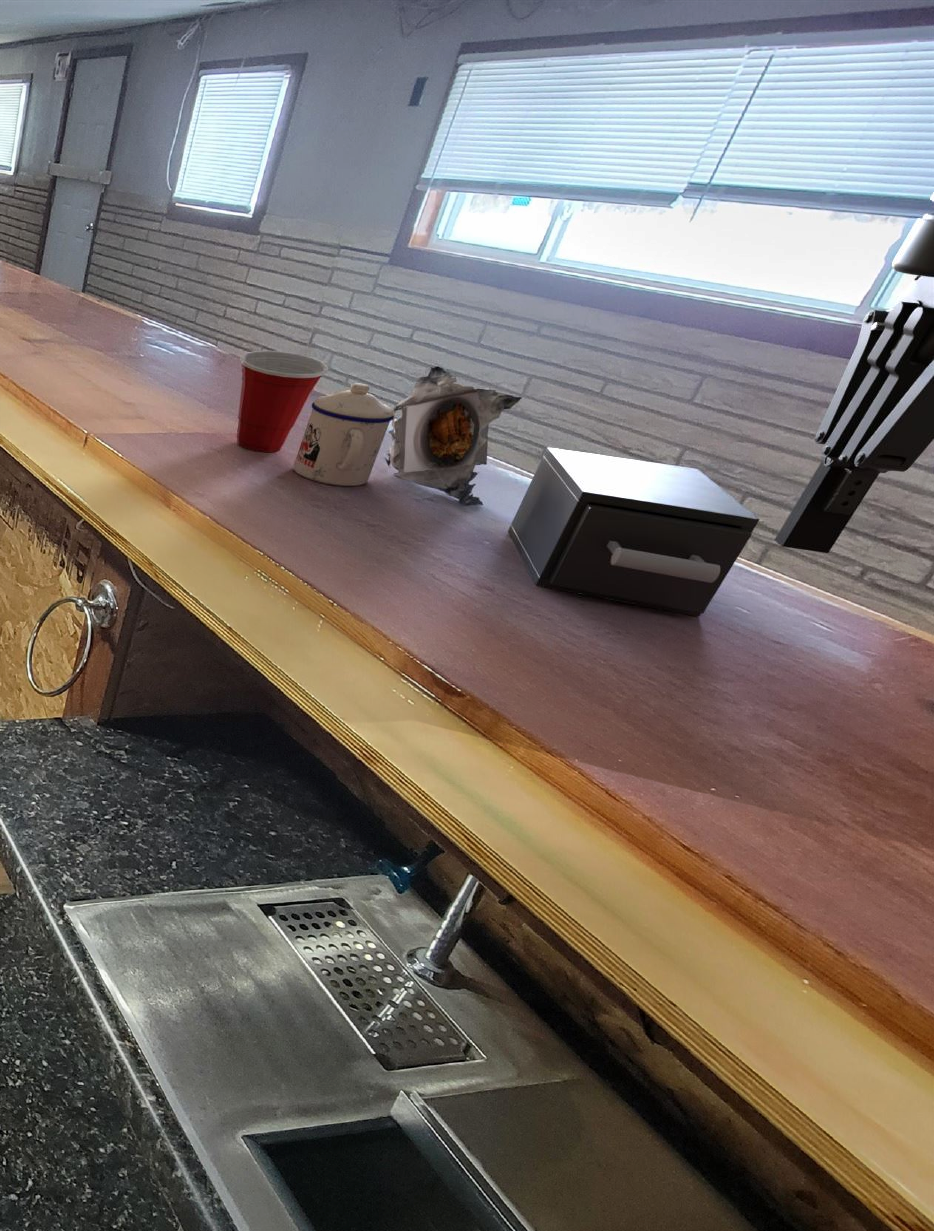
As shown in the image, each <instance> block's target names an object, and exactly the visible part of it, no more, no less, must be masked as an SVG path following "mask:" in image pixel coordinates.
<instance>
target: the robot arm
mask: <svg viewBox="0 0 934 1231" xmlns="http://www.w3.org/2000/svg"><path fill="white" fill-rule="evenodd" d="M930 200H931V201H932V202H933V203H934V193H933V194H932V195H931V197H930ZM891 266H892V269H893V270H894V271H896V272H898V273H902V274H906V275H912V276H916V277H915V278H914V279H913V280H912V282H911V283H910V285H908V287H907V288H906V289H905V290H904V291H903V292H902V293H901V294H900V296H899V297H898V299H897V302H896V303H895V304H894V305H893V307H892V308H891V309H889V310H880V309H871V310H870V311H868V313H866V314H865V316H864V318H863V320H862V324H861V329H860V333H859V336H858V339H857V343H856V346H855V348H854V351H853V352H852V355H851V357H850V359H849V362H848V364H847V365H846V368H845V371H844V373H843V374H842V376H841V379H840V381H839V384H838V385H837V388H836V390H835V393H834V395H833V396H832V399H831V401H830V403H829V406H828V408H827V410H826V412H825V415H824V417H823V419H822V421H821V423H820V425H819V428H818V430H817V432H816V435H815V438H814V443H815V444H818V445H823V447H822V448H821V450H820V457H821V459H823V460H821V462H820V463H819V465H818V466H817V468H816V470H815V471H814V474H813V475H812V477H811V479H810V480H809V481H808V483H807V485H806V487H805V488H804V490H803V492H802V493H801V495H800V496H799V497H798V500H797V501H796V503H795V505H794V506H793V508H792V509H791V511H790V513H789V514H788V516H787V518H786V520H784V523H783V524H782V527H781V528H780V529H779V531H778V533H777V534H776V536H775V538H774V541H775V542H776V543H777V544H779V545H780V546H781V547H784V548H789V549H797V550H803V551H810V552H816V553H817V552H818V553H823V554H829V553H830V551H831V549H832V548H833V547H834V546H835V543H836V542H837V540H838V539H839V537H840V536H841V535H842V532H843V531H844V530H845V528H846V526H847V525H848V523H849V522H850V520H851V519H852V517H853V515H854V514H855V512H856V511H857V509H858V508H859V507H860V505H861V503H862V502H863V500H864V498H865V497H866V496H867V493H868V492H869V491H870V489H871V487H872V486H873V484H874V483H875V481H876V479H877V478H878V477H879V475H880V474H887V473H888V472H900V473H904V472H906V471H908V470H909V469H910V468H911V467H912V466H913V465H914V463H915V462H916V461H917V460H918V458H919V457H920V456H921V455H922V454H923V453H924V451H925V450H926V449H927V448H928V446H929V445H930V444H931V443H932V442H933V441H934V212H926V213H925V214H924V215H923V217H918V218H917V219H916V221H915V223H914V224H913V226H912V228H911V230H910V232H908V235H907V237H906V239H905V240H904V242H903V243H902V245H901V247H900V248H899V250H898V252H897V254H896V255H895V257H894V259H893V261H892V264H891Z"/></svg>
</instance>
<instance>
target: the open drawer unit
mask: <svg viewBox="0 0 934 1231" xmlns="http://www.w3.org/2000/svg"><path fill="white" fill-rule="evenodd" d="M752 535H753V534H752V533H750V532H749V531H747V530H745V529H739V528H733V527H727V524H722V523H715V522H709V521H703V520H697V519H691V518H684V517H678V516H672V515H666V514H660V513H653V512H647V511H641V510H635V509H628V508H622V507H616V506H610V505H604V504H597V503H591V502H589V504H587V505H586V507H585V509H584V511H583V513H582V515H581V517H580V519H579V521H578V523H577V525H576V527H575V529H574V531H573V533H572V535H571V537H570V539H569V541H568V543H567V545H566V547H565V549H564V551H563V553H562V555H561V557H560V558H559V560H558V562H557V564H556V566H555V568H554V570H553V572H552V574H551V576H550V578H549V581H550V583H551V584H552V585H557V586H562V587H567V588H572V589H577V590H583V591H588V592H593V593H598V594H604V595H609V596H614V597H619V598H624V599H630V600H635V601H640V602H645V603H651V604H656V605H661V606H666V607H671V608H677V609H682V610H687V611H692V612H698V613H702V614H704V613H705V611H706V610H707V608H708V606H709V604H710V603H711V601H712V599H713V598H714V597H715V595H716V594H717V593H718V592H717V591H718V590H719V588H720V587H721V585H722V584H723V582H724V580H725V579H726V577H727V576H728V574H729V572H730V570H731V569H732V567H733V566H734V564H735V563H736V561H737V559H738V558H739V556H740V555H741V553H742V552H743V549H744V548H745V546H746V545H747V544H748V542H749V540H750V538H751V537H752Z"/></svg>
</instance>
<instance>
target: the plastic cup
mask: <svg viewBox="0 0 934 1231" xmlns="http://www.w3.org/2000/svg"><path fill="white" fill-rule="evenodd" d="M239 361H240V362H241V373H242V374H241V388H240V397H239V406H238V416H237V419H238V421H237V422H238V423H237V428H236V429H237V430H236V444H237V445H238V446H240V447H241V448H244V449H247V448H248V450H251V451H255V450H258V451H257V452H261V451H262V452H263V453H276V452H280V450H281V449H282V447H283V446H284V444H285V442H286V441H287V438H288V437H289V434H290V432H291V431H292V429H293V428H294V426H295V424H296V422H297V420H298V418H299V417H300V415H301V412H302V410H303V409H304V407H305V404H306V403H307V401H308V399H309V397H310V395H311V394H312V392H313V390H314V389H315V387H316V385H317V384H318V382H319V380H320V379H321V378H322V377H323V376H325V375H326V373H327V371H328V370H329V366H328V365H327V364H326V362H323V361H321V360H320V359H317V358H314V357H311V356H309V355H303V354H301V353H300V354H299V353H294V352H289V351H282V350H281V351H280V350H252V351H248V352H245V353H243V354H241V356H240V358H239Z"/></svg>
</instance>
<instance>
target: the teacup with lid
mask: <svg viewBox="0 0 934 1231" xmlns="http://www.w3.org/2000/svg"><path fill="white" fill-rule="evenodd" d="M369 391H370V385H368V384H365V383H360V382H355V383H353V384H351V386H350V389H349V390H341V391H339V392H336V393H333V394H330V395H329V394H327V395H322V396H319V397H316V398H315V400H313V402H312V403H311V408H312V409H311V413H310V415H309V418H308V422H307V425H306V428H305V430H304V434H303V437H302V439H301V443H300V446H299V449H298V452H297V456H296V458H295V461H294V463H293V464H294V465H293V470H294V471H295V473H297V474H298V475H299V476H301V477H303V478H306V479H307V480H311V481H314V482H317V483H321V484H325V485H332V486H339V487H358V486H362V485H364V484H366V483H367V482H368V481H369V478H370V476H371V473H372V470H373V468H374V465H375V462H376V459H377V457H378V454H379V452H380V449H381V446H382V444H383V442H384V439H385V436H386V433H387V430H388V428H389V425H390V423H391V422H392V420H393V418H394V419H395V417H394V412H393V410H394V409H393V408H392V407H390V406H389V405H388V404H385V403H382V402H381V401H380V400H379V398H377V397H376V396H375V395H373V394H371V393H369Z"/></svg>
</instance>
